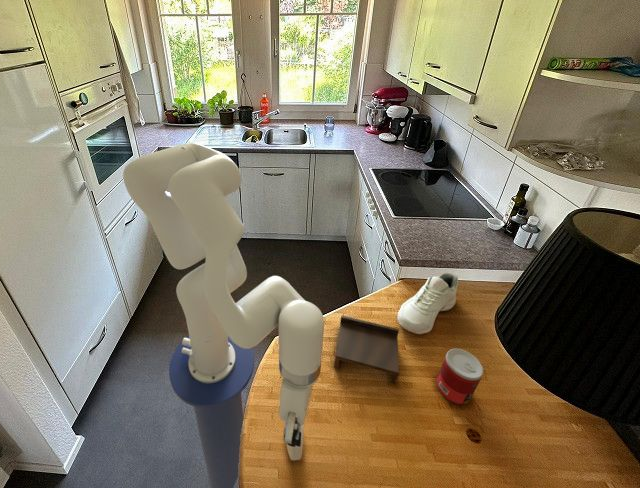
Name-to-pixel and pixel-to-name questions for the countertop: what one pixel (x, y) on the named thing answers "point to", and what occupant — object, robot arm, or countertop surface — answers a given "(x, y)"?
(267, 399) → the countertop surface
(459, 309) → the countertop surface
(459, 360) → the canned food
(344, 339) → the shelf
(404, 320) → the running shoe
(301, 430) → the eye dropper bottle
